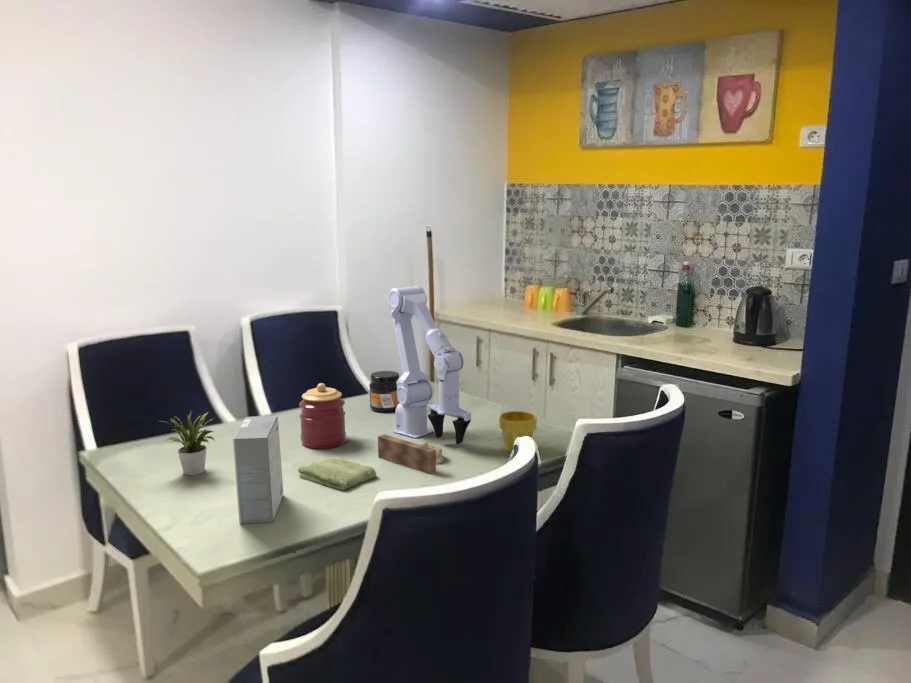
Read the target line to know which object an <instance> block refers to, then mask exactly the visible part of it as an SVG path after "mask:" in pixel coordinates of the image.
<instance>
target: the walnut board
mask: <svg viewBox="0 0 911 683" xmlns="http://www.w3.org/2000/svg"><path fill="white" fill-rule="evenodd" d="M419 444H420V443H415V442H413V441H408V440H405V439H401V438H398V437H394V436H392V435H388V434H386V433H384V434H381V435H378V436H377V451H378V453H377V454H378V456H377V457H378V458H379V459H383V460H386V461H389V462H390V463H391V462H392V463H395V464H398V465H401V466H404V467H407V468H410V469H413V470H415V471H420V472H423V473H426V474H429V475H431V474H434V473H435V472H437V464H436V449H433V448H429V447H426V446H422V445H419Z"/></svg>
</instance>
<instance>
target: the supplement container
mask: <svg viewBox="0 0 911 683" xmlns="http://www.w3.org/2000/svg"><path fill="white" fill-rule="evenodd" d="M399 378H400V373H399V372H397V371H393V370H379V371H375V372H372V373H370V382H369V384H368V387H369V407H370V410H371V411H373V412H375V413H393V412H395V411H396V407H397V405H398V404H399V403H400V402H399V401H398V399H397V383H396V382H397V381H398V379H399Z"/></svg>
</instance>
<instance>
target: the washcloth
mask: <svg viewBox="0 0 911 683" xmlns="http://www.w3.org/2000/svg"><path fill="white" fill-rule="evenodd" d="M297 472H298V473H299V478H300V479H304V480H306V481H311V482H313V483H316V484H319V485H322V486H326V487H329V488H332V489H335V490H339V491H346V490H347V489H349V488H352V487H355V486H357V485H358V484H360V483H362V482H363V483H364V482H366V481H369V480H371V479H374V478H375V477H376V476H377V472H376V470H375V469H374V467H373V466H370V465H367V464H366V465H364V464H361V463H359V462H355V461H349V460H347V459H343V458H341V457H330V458H327V459H322V460H317V461H314V462H312V463H310V464H309V465H306V466H300V467H298V469H297Z"/></svg>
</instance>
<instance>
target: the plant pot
mask: <svg viewBox="0 0 911 683" xmlns="http://www.w3.org/2000/svg"><path fill="white" fill-rule="evenodd" d="M537 420H538V417H537V414H534V413H532V412H528V411H526V410H525V411H523V410H510V411H505V412H503V413H501V414H500V415H499V422H498V423H499V429H500V430H501V432H502V437H503V442H504V445H505V446H504V447H505V450H506V451H507V452H509V453H513V452H512V450H513V444H514V441H515V439H516V438H517V437H522V436H529V437H531V438H533V436H534V432H535V430H536V429H537V422H538V421H537Z"/></svg>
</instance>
